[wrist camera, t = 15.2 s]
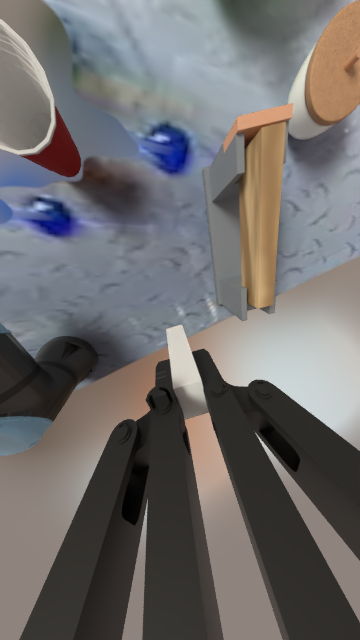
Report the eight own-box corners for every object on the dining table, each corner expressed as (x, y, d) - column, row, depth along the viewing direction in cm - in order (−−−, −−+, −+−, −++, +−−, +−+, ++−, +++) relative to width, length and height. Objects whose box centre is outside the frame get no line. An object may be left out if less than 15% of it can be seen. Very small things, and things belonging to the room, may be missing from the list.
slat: (242, 299, 33) (258, 308, 27) (238, 158, 22) (262, 127, 17) (254, 296, 33) (272, 304, 27) (256, 154, 22) (286, 121, 17)
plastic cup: (101, 137, 26) (57, 52, 15) (90, 204, 30) (48, 174, 19) (31, 94, 23) (-85, -49, 12) (29, 173, 27) (-62, 117, 16)
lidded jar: (305, 48, 24) (381, -62, 16) (337, 104, 28) (414, 36, 19) (262, 124, 28) (306, 66, 19) (295, 166, 31) (346, 132, 22)
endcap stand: (217, 303, 42) (239, 323, 30) (202, 171, 29) (229, 112, 17) (246, 296, 42) (280, 312, 30) (243, 161, 30) (300, 95, 17)
